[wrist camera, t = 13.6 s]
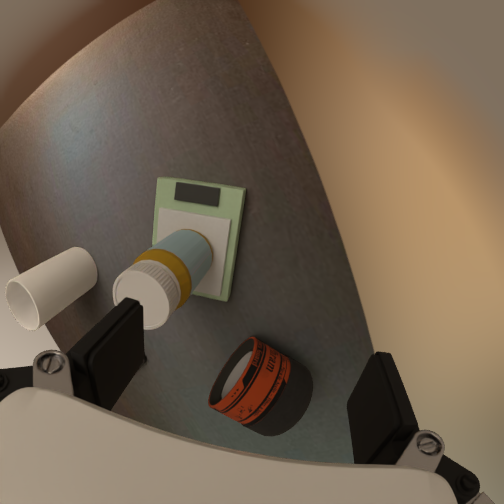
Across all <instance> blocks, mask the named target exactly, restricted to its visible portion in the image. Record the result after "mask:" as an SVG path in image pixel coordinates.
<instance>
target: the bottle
mask: <svg viewBox="0 0 504 504" xmlns="http://www.w3.org/2000/svg"><path fill="white" fill-rule="evenodd" d="M212 261H213V251H212V248H211V245H210V243H209V242H208V240H207V239H206V238H205V236H203V235H202V234H201V233H199V232H197V231H195V230H192V229H181V230H177V231H175V232H173V233H172V234H170V235H169V236H167V237H166V238H164V239H163V240H161V241H160V242H158V243H157V244H155V245H154V246H152V247H151V248H149V249H148V250H146V251H145V252H143V253H142V254H141V255H140V256H139V257H137V258H136V260H135V261H134V263H133V265H132V266H131V267H129V268H128V269H127V270H125V271H124V272H123V273H121V274H120V275H119V276H118V278H117V279H116V281H115V283H114V286H113V299H114V303H115V305H116V306H117V305H118V304H119V303H120V302H121V301H122V300H123V299H124V298H125V297H128V298H132V299H135V300H138V301H139V302H140V305H142V306H143V323H144V329H155V328H158V327H160V326H162V325H163V324H164V323H165V322H166V321H167V320H168V318H169V317H170V316H171V314H172V313H173V312H174V310H176V309H178V308H180V307H181V306H182V305H183V304H184V303H185V302H186V301H187V299H188V298H189V297H190V295H191V294H192V292H193V291H194V290H195V288H196V287H197V286H198V284H199V283H200V281H201V280H202V279H203V277H204V276H205V274H206V273H207V272H208V270H209V269H210V267H211V264H212Z"/></svg>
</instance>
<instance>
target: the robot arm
mask: <svg viewBox="0 0 504 504" xmlns="http://www.w3.org/2000/svg"><path fill="white" fill-rule="evenodd" d="M143 360H144V323H143V306H142V305H140V302H139V301H138V300H135V299H132V298H128V297H125V298H124V299H123V300H122V301H121V302H120V303H119V304H118V305H117V306H115V307H114V308H113V309H112V310H111V311H110V312H109V313H108V314H107V315H106V316H105V317H104V318H103V319H102V320H101V321H100V322H98V323H97V324H96V325H95V326H94V327H93V328H92V329H91V330H90V331H89V332H88V333H87V334H86V335H85V336H83V337H82V338H81V339H80V340H79V341H78V342H77V343H76V344H75V345H74V346H73V347H72V348H71V349H70V350H69V351H68V352H67V353H66V354H64V353H62V352H61V351H57V350H47V351H44V352H41V353H40V354H38V355H37V356H36V357H35V359H34V362H33V366H26V367H17V368H8V369H0V504H494V502H492V500H491V499H490V498H489V497H488V496H487V495H486V494H485V493H484V492H482V493H481V494H480V493H479V489H480V483H479V480H478V478H477V477H476V476H475V474H473V473H472V472H471V471H468V470H467V469H466V468H464V467H462V466H461V465H459V464H458V463H456V462H454V461H453V460H451V459H450V458H448V457H447V456H445V455H443V453H444V450H445V445H444V442H443V440H442V438H441V437H440V436H439V435H438V434H436V433H435V432H433V431H430V430H419V427H418V423H417V420H416V418H415V415H414V412H413V409H412V407H411V404H410V401H409V398H408V395H407V393H406V390H405V388H404V385H403V382H402V380H401V377H400V375H399V372H398V370H397V367H396V365H395V362H394V360H393V358H392V355H391V354H390V353H386V352H376V353H375V355H374V354H373V355H371V356H370V358H369V360H368V362H367V364H366V367H365V369H364V371H363V373H362V375H361V377H360V379H359V381H358V382H357V384H356V386H355V388H354V390H353V392H352V394H351V396H350V398H349V400H348V402H347V411H348V418H349V425H350V432H351V439H352V447H353V455H354V464H344V463H327V462H314V461H304V460H295V459H287V458H280V457H273V456H266V455H260V454H255V453H249V452H244V451H239V450H234V449H229V448H225V447H220V446H216V445H212V444H208V443H204V442H200V441H197V440H193V439H189V438H186V437H182V436H179V435H176V434H172V433H169V432H166V431H163V430H160V429H157V428H154V427H151V426H148V425H145V424H143V423H140V422H137V421H134V420H132V419H129V418H126V417H124V416H121V415H119V414H116V413H114V412H111V409H112V408H113V406H114V405H115V403H116V402H117V400H118V399H119V397H120V396H121V394H122V393H123V391H124V390H125V388H126V387H127V385H128V384H129V382H130V381H131V379H132V378H133V376H134V375H135V373H136V372H137V370H138V369H139V367H140V366H141V364H142V363H143Z"/></svg>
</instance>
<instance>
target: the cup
mask: <svg viewBox="0 0 504 504" xmlns="http://www.w3.org/2000/svg"><path fill="white" fill-rule="evenodd" d="M97 275H98V274H97V267H96V264H95V262H94V260H93V258H92V257H91V255H90V254H89V253H88V252H87V251H86V250H84V249H82V248H80V247H73V248H70V249H68V250H66V251H64V252H62V253H60V254H58V255H56V256H54V257H52V258H50V259H48V260H47V261H45V262H43V263H41V264H39V265H37V266H35V267H33V268H31V269H29V270H28V271H26V272H24V273H22V274H20V275H18V276H17V277H15V278H13V279H11V280H10V281H9V282H8V283H7V285H6V299H7V303H8V306H9V308H10V311H11V313H12V314H13V316H14V317H15V319H16V320H17V321H18V323H19V324H20V325H21V326H22V327H24V328H25V329H27V330H29V331H35V330H37V329H38V328H40V327H41V326H42V325H44V324H45V323H46V322H47V321H49V320H50V319H51V318H52V317H54V316H55V315H56V314H58V313H59V312H60V311H62V310H63V309H64V308H66V307H67V306H68V305H69V304H71V303H72V302H73V301H75V300H76V299H77V298H79V297H80V296H82V295H83V294H84V293H86V292H87V291H88V290H90V289H91V288H92V287H93V286H94V285H95V284H96V281H97Z"/></svg>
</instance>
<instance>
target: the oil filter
mask: <svg viewBox="0 0 504 504" xmlns="http://www.w3.org/2000/svg"><path fill="white" fill-rule="evenodd" d="M312 392H313V380H312V376H311V374H310V372H309V370H308V369H307V368H306V367H305V366H303V365H302V364H300V363H298V362H296V361H295V360H293V359H291V358H290V357H288V356H286V355H282V354H281V353H279V352H277V351H276V350H274V349H273V348H271V347H269V346H268V345H266V344H265V343H263V342H261V341H260V340H258V339H257V338H255V337H250V338H248V339H247V340H245V341H244V342H243V343H242V344H241V345H240V346H239V347H238V348H237V349H236V350H235V352H234V353H233V354H232V355H231V357H230V358H229V360H228V361H227V362H226V364H225V365H224V367H223V368H222V370H221V372H220V373H219V375H218V377H217V379H216V381H215V383H214V385H213V387H212V390H211V392H210V395H209V400H208V404H209V407H211V408H213V409H215V410H216V411H218V412H220V413H222V414H224V415H226V416H228V417H230V418H231V419H233V420H235V421H237V422H239V423H241V424H242V425H243V426H245V427H247V428H249V429H251V430H253V431H255V432H257V433H259V434H261V435H264V436H276V435H280V434H282V433H284V432H286V431H288V430H289V429H290V428H292V427H293V426H294V425H295V424H296V423H297V422H298V421H299V420H300V419H301V417H302V416H303V414H304V413H305V411H306V410H307V408H308V405H309V403H310V400H311V397H312Z"/></svg>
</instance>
